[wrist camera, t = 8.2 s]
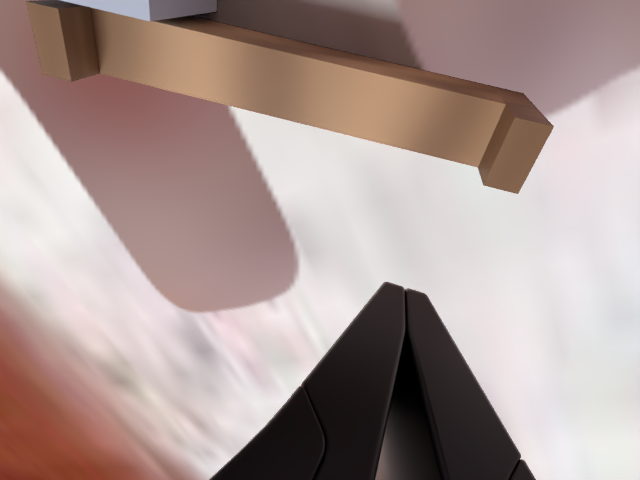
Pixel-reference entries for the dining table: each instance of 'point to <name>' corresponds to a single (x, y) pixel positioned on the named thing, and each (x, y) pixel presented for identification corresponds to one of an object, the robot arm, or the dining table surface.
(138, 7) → the block
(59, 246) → the dining table surface
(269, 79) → the chute
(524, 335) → the dining table surface
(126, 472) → the dining table surface
